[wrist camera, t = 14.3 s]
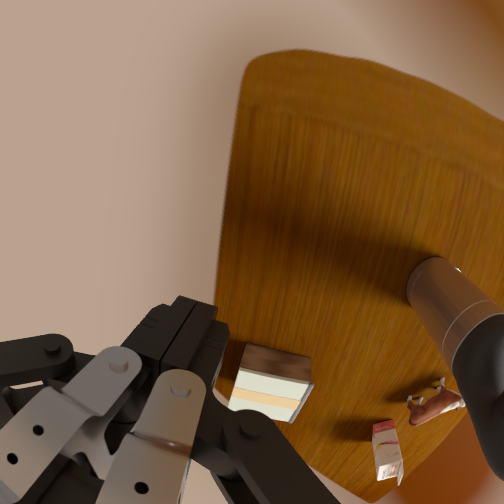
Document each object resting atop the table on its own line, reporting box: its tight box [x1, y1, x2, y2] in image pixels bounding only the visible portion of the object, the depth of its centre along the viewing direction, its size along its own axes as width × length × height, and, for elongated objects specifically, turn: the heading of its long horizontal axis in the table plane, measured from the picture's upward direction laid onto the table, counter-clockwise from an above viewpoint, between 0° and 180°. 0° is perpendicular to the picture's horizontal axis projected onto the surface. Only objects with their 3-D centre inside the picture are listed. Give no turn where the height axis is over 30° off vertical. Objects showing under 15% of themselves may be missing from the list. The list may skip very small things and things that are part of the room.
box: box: [228, 342, 311, 405], centre depth 44 cm, size 11×10×6 cm
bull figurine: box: [407, 377, 465, 426], centre depth 41 cm, size 4×13×8 cm, turn 119°
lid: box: [228, 367, 314, 423], centre depth 41 cm, size 12×10×1 cm
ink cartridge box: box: [372, 419, 403, 486], centre depth 43 cm, size 9×5×15 cm, turn 16°
